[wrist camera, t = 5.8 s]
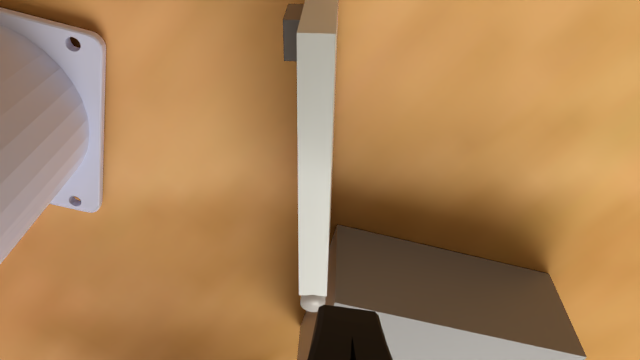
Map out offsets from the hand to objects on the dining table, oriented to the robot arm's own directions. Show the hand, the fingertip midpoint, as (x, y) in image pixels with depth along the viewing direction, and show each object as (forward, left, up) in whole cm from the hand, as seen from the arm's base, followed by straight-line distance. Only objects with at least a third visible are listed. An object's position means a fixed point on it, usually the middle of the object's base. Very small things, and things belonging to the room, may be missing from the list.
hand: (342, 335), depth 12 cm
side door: (-1, 0, -9) cm, 9 cm away
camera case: (+6, -8, -9) cm, 13 cm away
